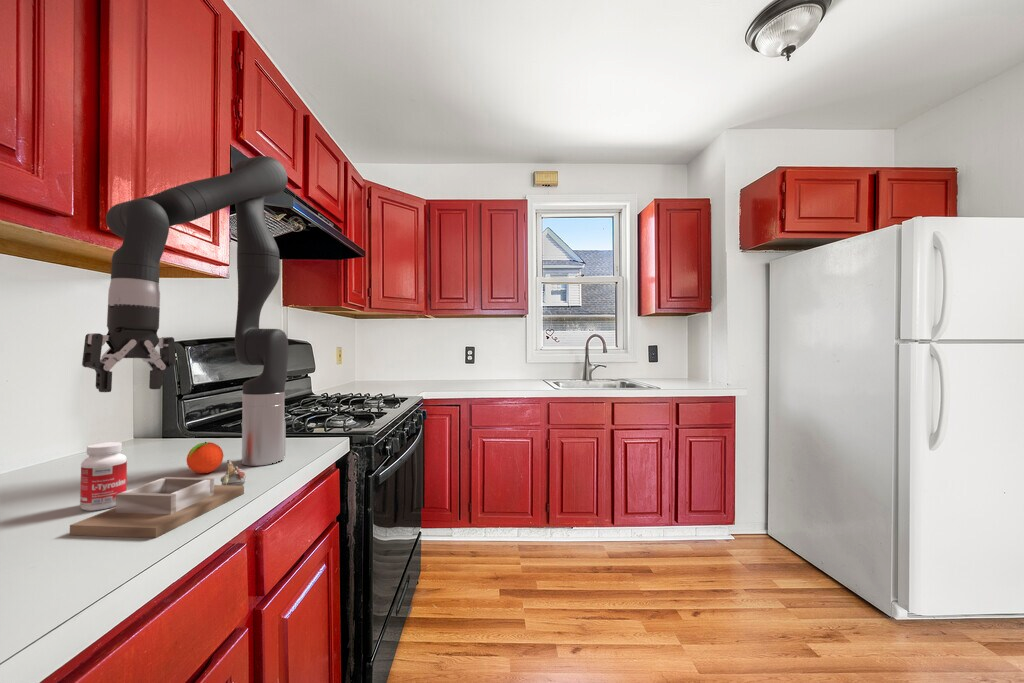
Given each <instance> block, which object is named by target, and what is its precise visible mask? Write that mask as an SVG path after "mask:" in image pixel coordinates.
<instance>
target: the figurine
mask: <svg viewBox="0 0 1024 683" xmlns="http://www.w3.org/2000/svg"><path fill="white" fill-rule="evenodd" d="M226 462H227V471H226V472H225V474H224V475H223V476H221V477H220V482H221V485H229V486H244V484H245V482H246V477H247V475H246V473H245V472H244V471H242V470H243V468H239V467H238V465H236V466H234V464H233V463H232V461H231V459H227V460H226Z"/></svg>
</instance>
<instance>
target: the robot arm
mask: <svg viewBox="0 0 1024 683" xmlns="http://www.w3.org/2000/svg"><path fill="white" fill-rule="evenodd" d="M288 179H289V178H288V174H287V170H286V168H285V167H284V165H283V164H282V163H281V162H280V161H279V160H277V159H276V158H274V157H271V156H269V155H268V156H267V155H258V156H253V157H248V158H244V159H240V160H237V162H235V163H234V165H233V167H232V172H229V173H226V174H225V173H224V174H220V175H216V176H212V177H207V178H203V179H198V180H193V181H190V182H186V183H183V184H179V185H176V186H174V187H173V186H172V187H170V188H167V189H164V190H162V191H159V192H158V193H155V194H151V195H148V196H144V197H139V198H135V199H131V200H128V201H127V200H126V201H123V202H120V203H116V204H115V205H112V206H111V207H110V208H109V209H108V211H107V212H106V215H105V221H106V225H107V227H108V229H109V231H111V232H112V233H113V234H114V235H116V236H117V237H118V238H122V239H123V240H122V243H121V246H120V247H118V248H117V249H116V250H115V251H114V252H113V254H112V257H111V268H110V283H109V288H108V295H107V312H106V313H107V315H106V316H107V317H106V328H107V330H108V332H107V333H106V334H102V333H100V332H99V333H87V334H86V335H85V338H84V346H83V351H82V352H83V354H82V363H81V366H82V367H83V368H87V369H92V370H94V371H95V389H97V390H98V392H99V393H111V392H112V390H113V389H112V384H113V371H111V370H112V368H113V367H115V365H116V364H117V363H119V362H121V360H122V359H141V360H142V361H143V362H145V363H146V364H147V365H148V366H149V368H150V370H149V384H148V385H149V386H148V387H149V389H150V390H160V389H161V388H162V386H163V385H164V377H165V376H164V373H165V370H166V369H167V368H171V367H175V365H176V352H175V351H176V350H175V349H176V348H175V347H176V346H175V344H176V343H175V338H174V337H172V336H171V337H170V336H167V337H166V336H163V337H159V336H158V331H159V329H160V311H161V310H160V309H161V308H160V306H161V291H160V270H161V269H160V261H161V259H162V257H163V253H164V250H165V247H166V245H167V241H168V238H169V233H170V227H173V226H177V225H184V224H187V223H191V222H193V221H196V220H198V219H201V218H203V217H205V216H208V215H210V214H214V213H216V212H218V211H220V210H223V209H225V208H228V207H230V206H233V205H234V207H235V215H236V216H235V218H236V239H237V240H236V241H237V244H236V245H237V247H236V271H237V272H236V274H237V312H236V322H235V332H234V353H235V356H236V358H237V361H238V362H239V363H240V364H241V365H243V366H244V365H245V366H263V369H262V372H261V374H259V375H258V376H256V377H254V378H251V379H247V380H246V381H244V382H243V383H242V395H241V396H242V399H241V400H242V401H241V402H242V403H241V406H242V410H241V411H242V415H241V416H242V419H241V422H242V424H241V433H242V434H241V464H242V465H244V466H249V467H251V466H254V467H255V466H266V465H273V464H277V463H279V462H278V461H280V462H282V461H283V459H285V457H286V441H287V440H286V439H287V438H286V436H287V435H286V431H287V428H286V427H287V424H286V423H287V422H286V420H285V396H286V395H285V394H286V393H285V392H286V391H285V390H286V387H285V386H286V382H287V376H288V361H289V340H288V336H287V335H286V333H285V331H284V330H282V329H280V328H279V329H278V328H260V318H261V317H260V316H261V313H262V309H263V307H264V304H265V303H266V301H267V299H268V298H269V297H270V295H271V294H272V293H273V291H274V288H275V287H276V285H277V284H278V281H279V278H280V271H281V270H280V269H281V267H280V266H281V265H280V249H279V247H278V244H277V241H276V240H275V238H274V236H273V234H272V233H271V230H270V228H269V227H268V225H267V222H266V217H265V198H266V197H271V196H272V197H273V196H275V195H279V194H280V193H282V192H284V190H285V189H286V187H287V185H288V181H289V180H288ZM105 344H107V346H108V347H109V348H107V350H106V351H105V352H104V353H103V355H102V347H103V346H104V345H105ZM156 347H158V348H159V352H158V351H157V349H156ZM284 456H285V457H284ZM281 460H282V461H281ZM276 462H277V463H276ZM272 463H273V464H272Z"/></svg>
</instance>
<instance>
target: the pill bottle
mask: <svg viewBox="0 0 1024 683" xmlns="http://www.w3.org/2000/svg"><path fill="white" fill-rule="evenodd" d="M122 445H123V444H122V442H119V441H118V442H117V441H108V442H100V443H99V442H98V443H93V444H90V445H87V446H86V454H87V456H88V457H86V458H84V460H82V462H81V464H80V492H79V493H80V496H79V497H80V498H79V500H80V501H79V503H80V504H79V505H80V509H81V510H83V511H90V512H93V511H100V510H107V509H112V508H116V494H119V493H121V492H124V491H127V480H128V479H127V478H128V477H127V476H128V475H127V474H128V473H127V472H128V471H127V470H128V458H127V456H126V455H125V454H123V453H121V451H122V449H123V448H122V447H123V446H122Z"/></svg>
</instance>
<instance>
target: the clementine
mask: <svg viewBox="0 0 1024 683" xmlns="http://www.w3.org/2000/svg"><path fill="white" fill-rule="evenodd" d="M223 460H224V451H223V449H222V448H221V447H220V445H219V444H217V443H214V442H208V441H204V442H201V443H198V444H196V445H195V446H193V447H192V448H191V449H190V450H189V452H188V454H187V455H186V465H187V467H188V468H189V469H190V470H191V471H192V472H193V473H196V474H200V475H202V474H209V473H212V472H213V471H215V470H217V469H218V468H219V467H220V466H221V464H222V463H223Z"/></svg>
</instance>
